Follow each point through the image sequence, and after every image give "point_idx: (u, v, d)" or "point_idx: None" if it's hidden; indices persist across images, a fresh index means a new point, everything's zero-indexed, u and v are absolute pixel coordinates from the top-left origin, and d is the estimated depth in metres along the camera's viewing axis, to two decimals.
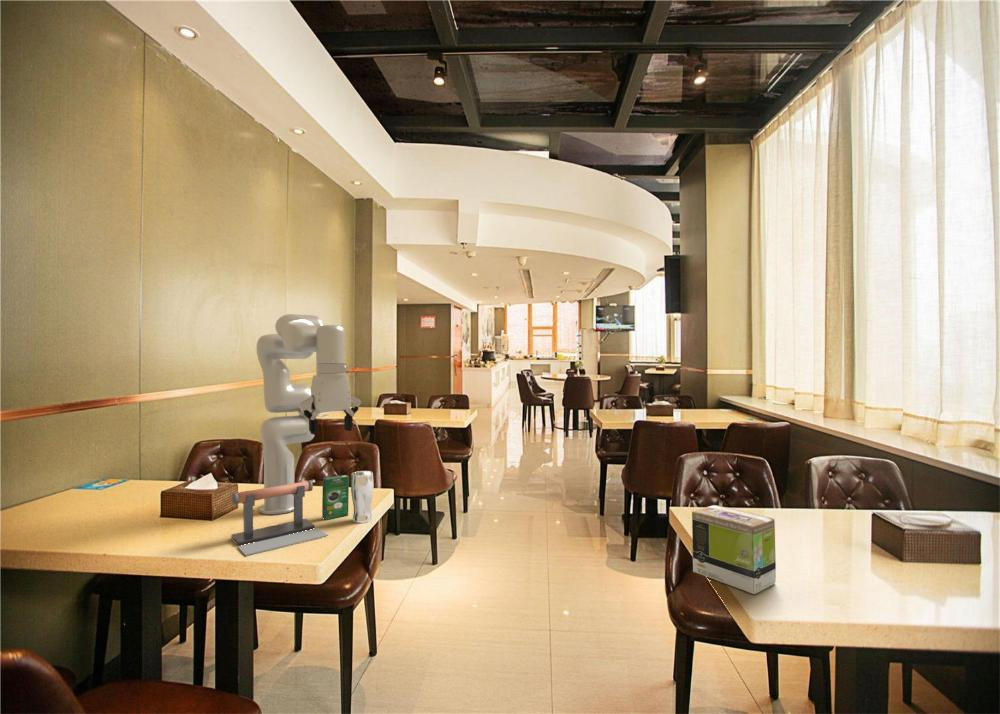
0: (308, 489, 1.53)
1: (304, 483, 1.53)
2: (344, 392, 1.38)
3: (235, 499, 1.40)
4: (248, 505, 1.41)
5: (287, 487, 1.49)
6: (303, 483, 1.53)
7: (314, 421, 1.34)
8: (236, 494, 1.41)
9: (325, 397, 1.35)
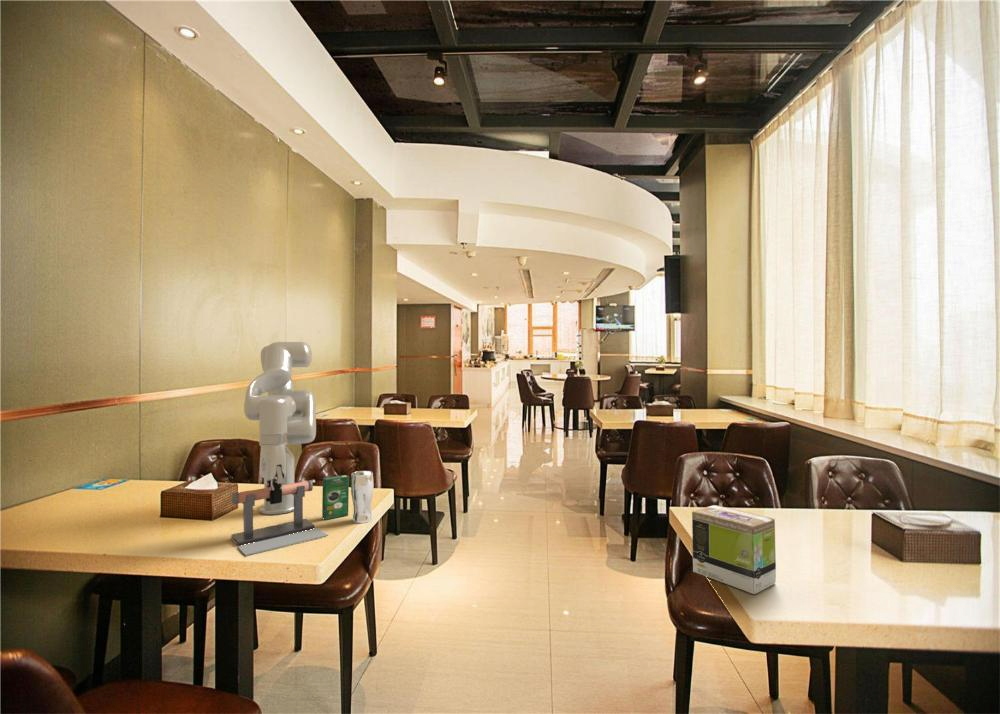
0: (308, 489, 1.53)
1: (304, 483, 1.53)
2: None
3: (235, 499, 1.40)
4: (248, 505, 1.41)
5: (287, 487, 1.49)
6: (303, 483, 1.53)
7: (280, 490, 1.47)
8: (236, 494, 1.41)
9: None
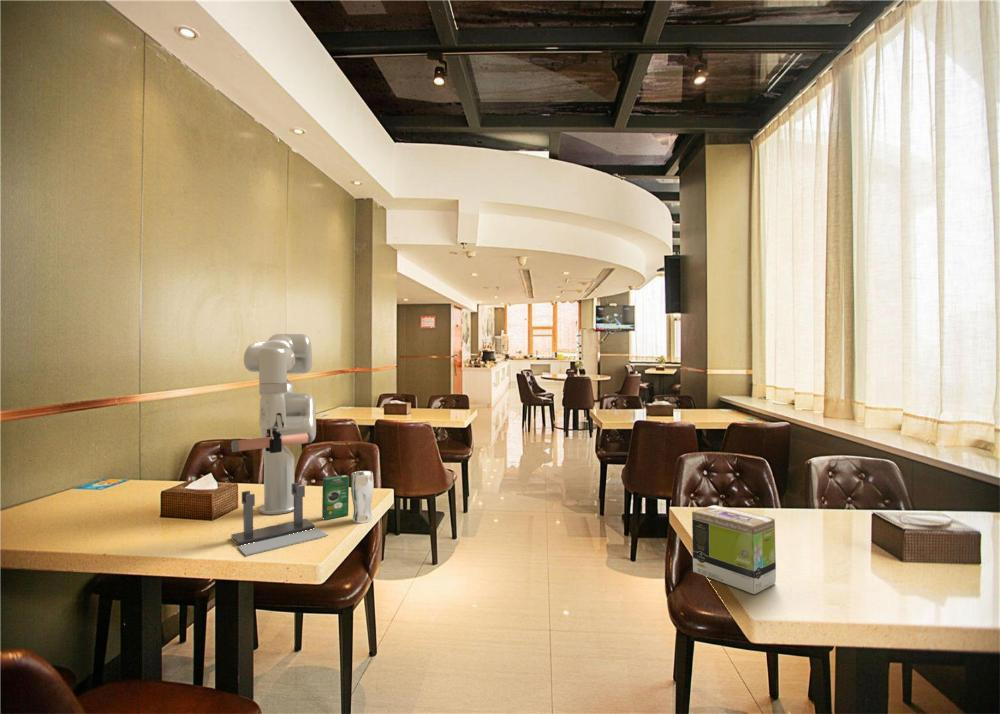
0: (308, 440, 1.54)
1: (304, 434, 1.53)
2: None
3: (235, 446, 1.40)
4: (248, 505, 1.41)
5: (287, 437, 1.50)
6: (303, 434, 1.53)
7: (280, 440, 1.47)
8: (236, 441, 1.41)
9: None
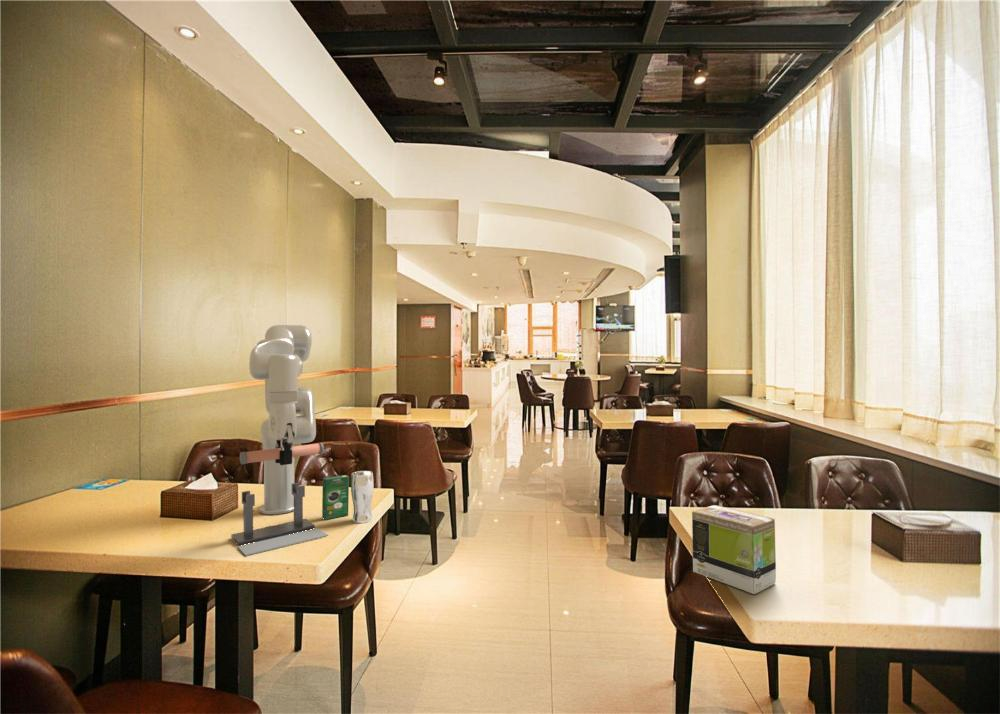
0: (319, 451, 1.46)
1: (315, 445, 1.46)
2: None
3: (243, 458, 1.33)
4: (248, 505, 1.41)
5: (297, 448, 1.42)
6: (314, 445, 1.46)
7: (290, 451, 1.40)
8: (244, 453, 1.34)
9: None
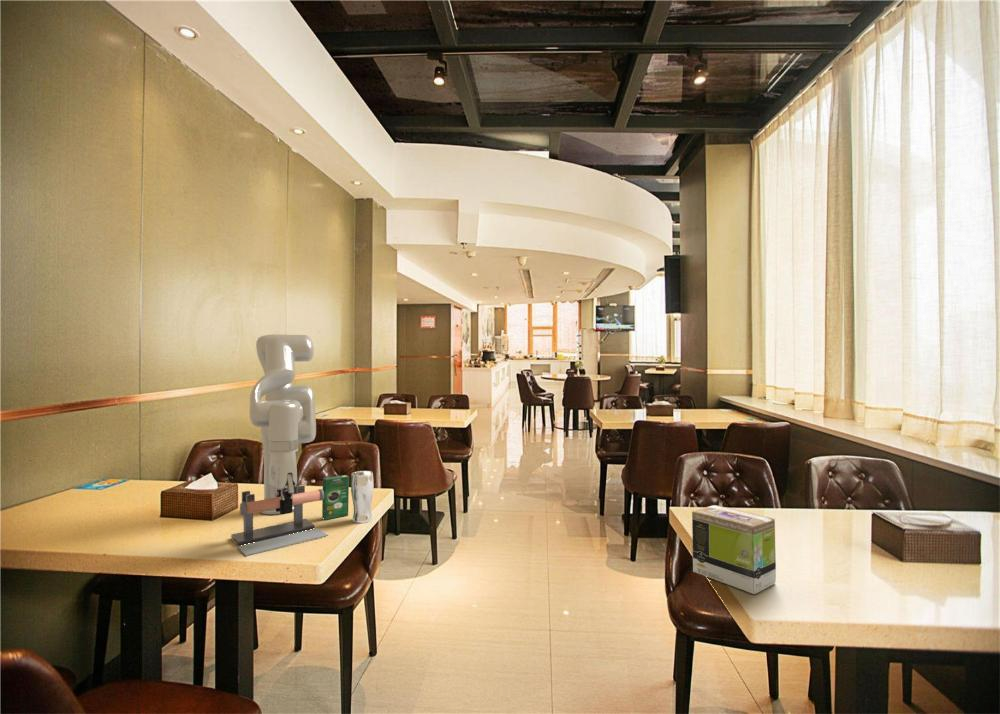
0: (319, 498, 1.46)
1: (315, 492, 1.46)
2: None
3: (244, 509, 1.33)
4: None
5: (298, 496, 1.42)
6: (314, 492, 1.46)
7: (291, 500, 1.40)
8: (245, 504, 1.34)
9: None
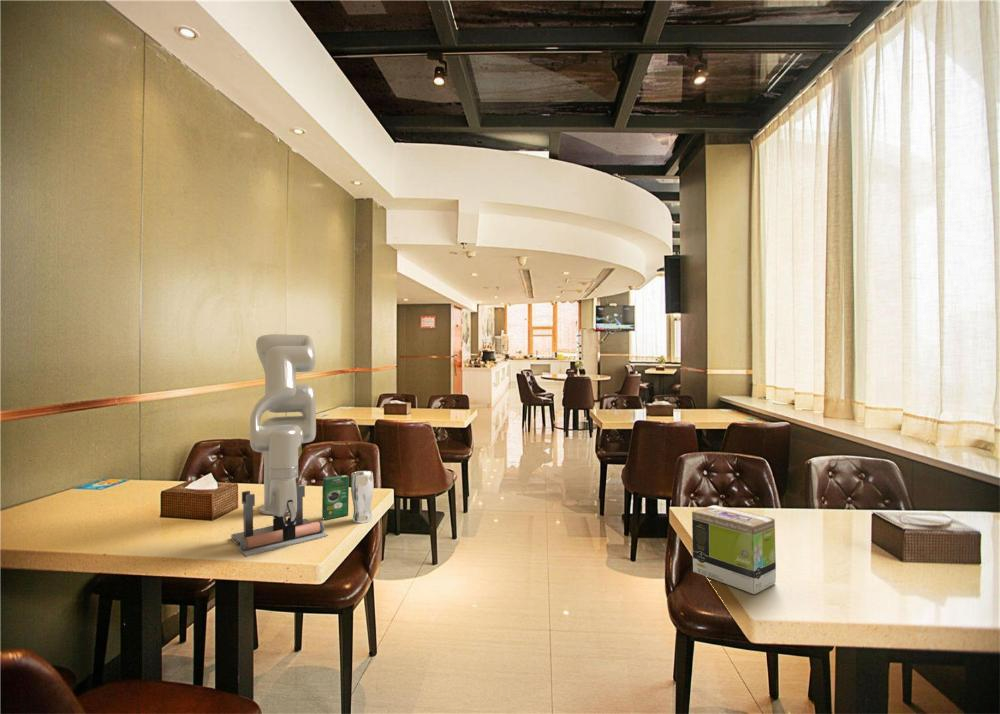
0: (319, 530, 1.47)
1: (315, 524, 1.46)
2: None
3: (244, 545, 1.33)
4: (248, 505, 1.41)
5: (298, 529, 1.43)
6: (314, 524, 1.46)
7: (293, 525, 1.39)
8: (245, 539, 1.34)
9: None
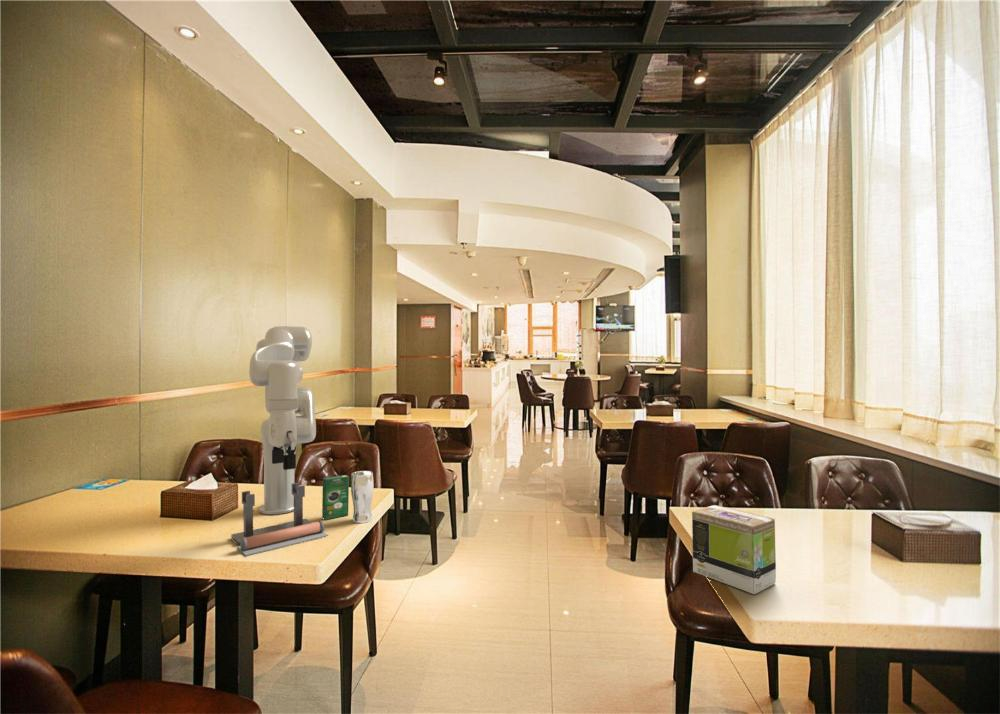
0: (319, 530, 1.47)
1: (315, 524, 1.46)
2: None
3: (244, 545, 1.33)
4: (248, 505, 1.41)
5: (298, 529, 1.43)
6: (314, 524, 1.46)
7: (294, 455, 1.38)
8: (245, 539, 1.34)
9: None
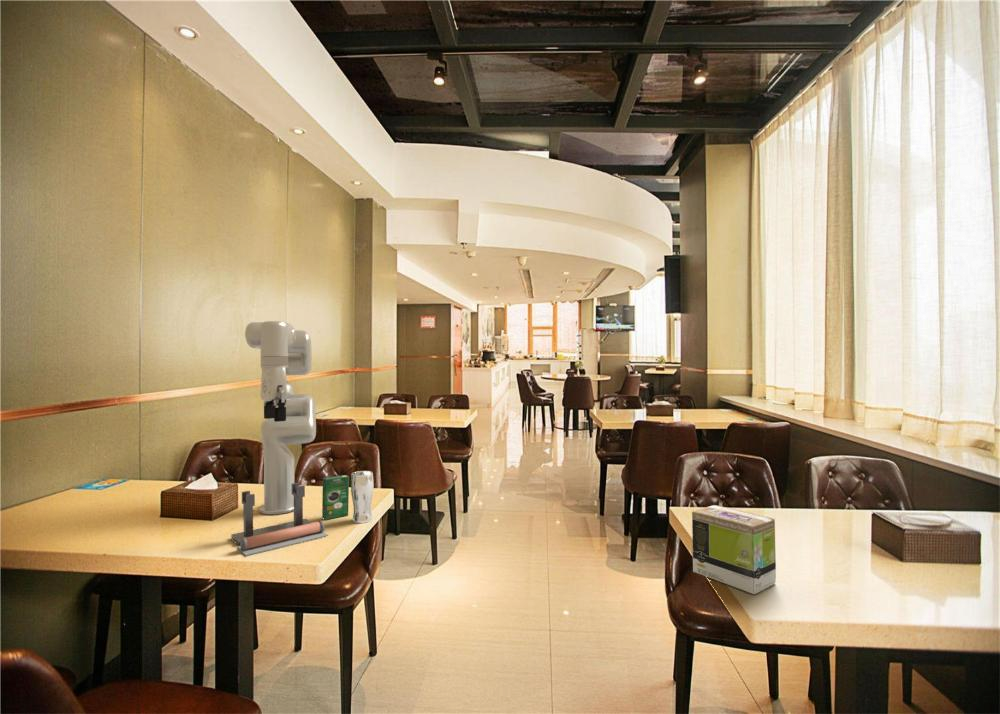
0: (319, 530, 1.47)
1: (315, 524, 1.46)
2: None
3: (244, 545, 1.33)
4: (248, 505, 1.41)
5: (298, 529, 1.43)
6: (314, 524, 1.46)
7: (284, 408, 1.47)
8: (245, 539, 1.34)
9: None
